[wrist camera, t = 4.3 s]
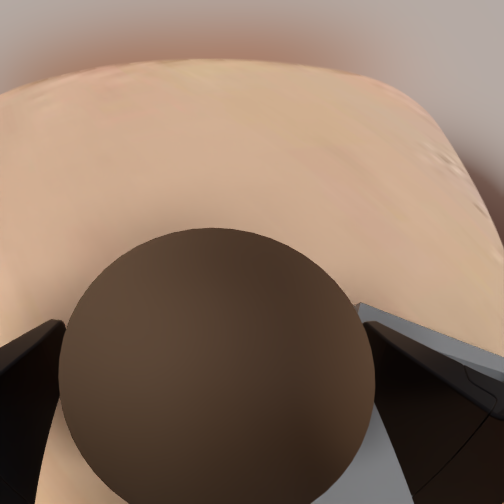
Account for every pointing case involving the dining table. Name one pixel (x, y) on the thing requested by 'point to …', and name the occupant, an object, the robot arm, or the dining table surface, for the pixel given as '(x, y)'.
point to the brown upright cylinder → (216, 373)
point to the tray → (376, 439)
